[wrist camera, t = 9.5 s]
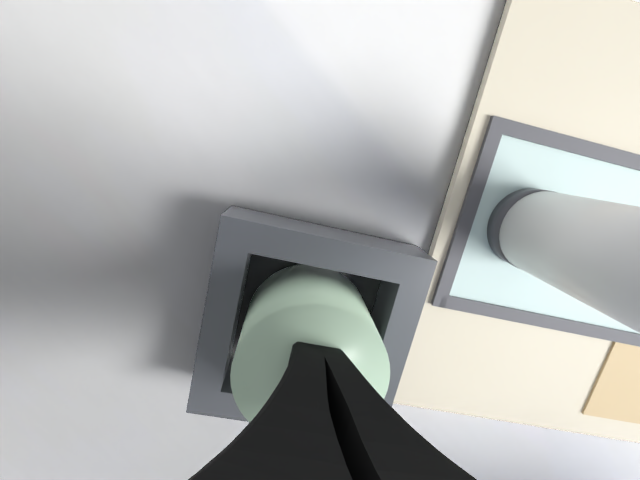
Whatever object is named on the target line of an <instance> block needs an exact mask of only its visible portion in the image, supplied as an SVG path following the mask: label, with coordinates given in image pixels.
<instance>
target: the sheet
mask: <svg viewBox="0 0 640 480" xmlns="http://www.w3.org/2000/svg"><path fill="white" fill-rule="evenodd" d="M525 188H536V189H542V190H548V191H554V192H557V193H562V194H568V195H574V196H580V197H586V198H592V199H598V200H603V201H609V202H615V203H621V204H627V205H633V206H639V207H640V3H639V2H636V1H633V0H507V1H506V4H505V7H504V11H503V14H502V17H501V20H500V24H499V27H498V30H497V33H496V36H495V40H494V43H493V46H492V49H491V53H490V56H489V59H488V62H487V66H486V69H485V72H484V75H483V78H482V82H481V85H480V88H479V91H478V95H477V98H476V101H475V104H474V108H473V111H472V114H471V117H470V121H469V124H468V127H467V130H466V133H465V137H464V140H463V143H462V146H461V150H460V153H459V156H458V159H457V163H456V166H455V169H454V172H453V175H452V179H451V182H450V185H449V188H448V192H447V195H446V198H445V201H444V205H443V208H442V211H441V214H440V217H439V221H438V224H437V227H436V230H435V234H434V237H433V240H432V243H431V247H430V250H429V253H428V254H429V255H430V256H431V257H433V258H434V259H435V260H437V261H438V262H437V265H436V269H435V272H434V275H433V278H432V281H431V284H430V288H429V291H428V294H427V297H426V300H425V303H424V306H423V310H422V313H421V316H420V319H419V322H418V325H417V329H416V332H415V335H414V338H413V341H412V344H411V347H410V351H409V354H408V357H407V360H406V363H405V366H404V370H403V373H402V376H401V379H400V382H399V385H398V389H397V392H396V395H395V398H394V401H393V403H394V404H400V405H406V406H412V407H419V408H425V409H431V410H437V411H443V412H450V413H456V414H462V415H468V416H474V417H481V418H487V419H493V420H499V421H505V422H512V423H518V424H524V425H530V426H536V427H542V428H549V429H555V430H561V431H567V432H573V433H580V434H586V435H592V436H598V437H604V438H611V439H617V440H623V441H629V442H635V443H640V333H638V332H637V331H635V330H633V329H631V328H629V327H627V326H625V325H623V324H622V323H620V322H618V321H616V320H614V319H612V318H610V317H609V316H607V315H605V314H603V313H601V312H599V311H597V310H596V309H594V308H592V307H590V306H588V305H586V304H584V303H583V302H581V301H579V300H577V299H575V298H573V297H571V296H570V295H568V294H566V293H564V292H562V291H560V290H558V289H557V288H555V287H553V286H551V285H549V284H547V283H545V282H544V281H542V280H540V279H538V278H536V277H534V276H532V275H531V274H529V273H527V272H525V271H523V270H521V269H519V268H517V267H515V266H513V265H511V264H509V263H507V262H505V261H503V260H502V259H500V258H499V257H498V256H496V254H495V253H494V252H493V251H492V249H491V248H490V245H489V243H488V239H487V225H488V221H489V218H490V215H491V213H492V211H493V210H494V208H495V207H496V205H497V204H498V203H499V202H500V201H501V200H502V199H503V198H504V197H506V196H507V195H509V194H510V193H512V192H514V191H517V190H520V189H525Z"/></svg>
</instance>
